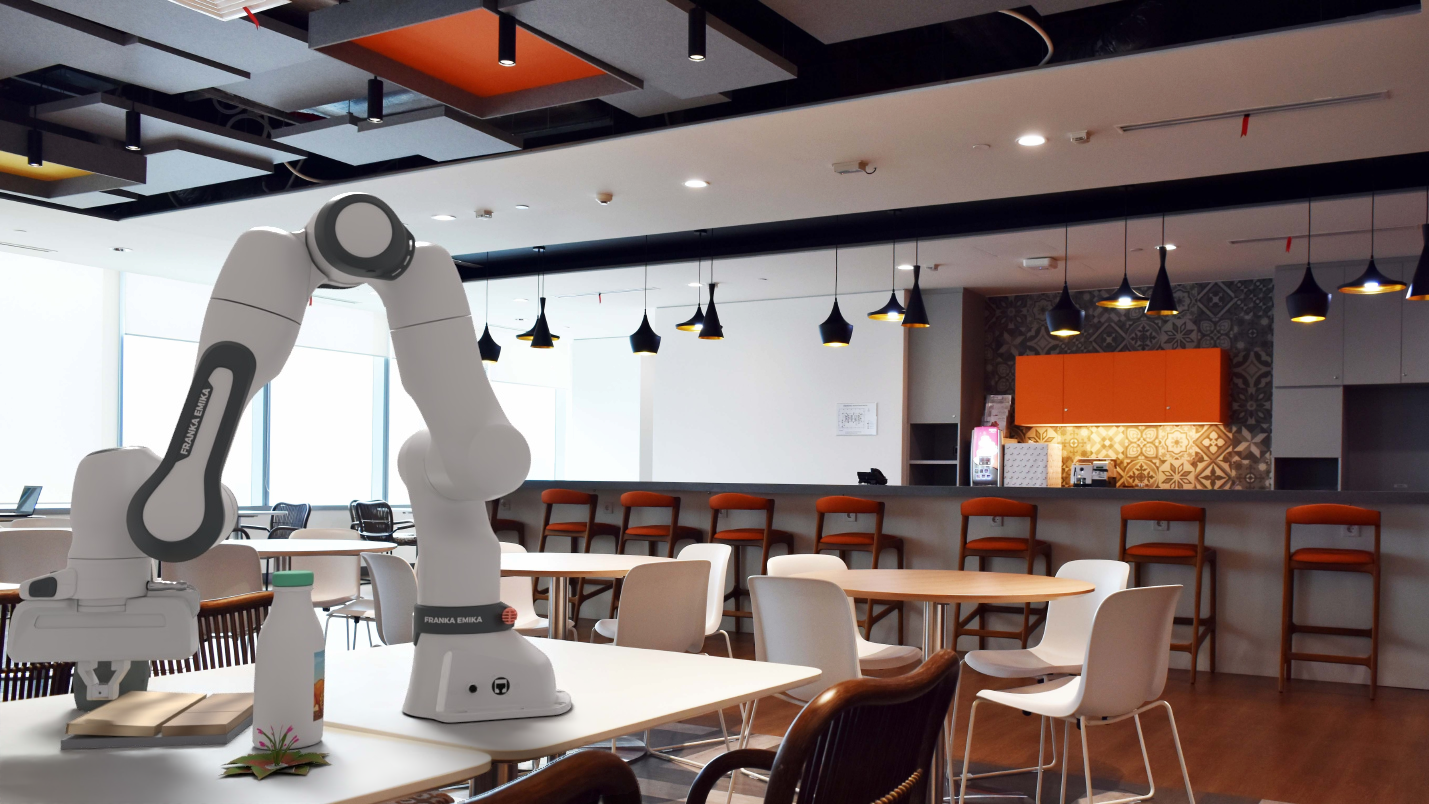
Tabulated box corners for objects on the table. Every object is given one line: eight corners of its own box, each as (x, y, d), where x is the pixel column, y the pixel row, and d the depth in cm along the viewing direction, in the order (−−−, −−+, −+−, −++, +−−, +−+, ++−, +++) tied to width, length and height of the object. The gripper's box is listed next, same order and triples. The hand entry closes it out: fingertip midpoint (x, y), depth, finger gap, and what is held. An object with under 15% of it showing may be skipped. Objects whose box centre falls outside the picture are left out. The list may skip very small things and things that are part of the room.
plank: (205, 702, 143) (206, 693, 143) (153, 736, 124) (154, 726, 124) (130, 699, 142) (131, 690, 142) (65, 733, 122) (66, 723, 122)
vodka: (54, 710, 143) (65, 486, 145) (112, 697, 152) (122, 486, 154) (108, 714, 140) (118, 486, 142) (164, 701, 149) (173, 486, 151)
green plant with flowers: (347, 755, 121) (349, 714, 122) (317, 784, 109) (319, 738, 110) (238, 757, 120) (240, 715, 121) (196, 786, 108) (198, 740, 109)
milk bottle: (298, 753, 120) (304, 574, 122) (237, 749, 122) (243, 573, 123) (335, 737, 128) (340, 569, 129) (277, 734, 129) (283, 568, 131)
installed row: (268, 701, 144) (268, 691, 144) (226, 734, 125) (226, 723, 125) (213, 702, 143) (213, 693, 143) (161, 736, 124) (161, 725, 124)
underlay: (270, 708, 144) (270, 700, 145) (227, 743, 125) (227, 734, 125) (127, 712, 142) (128, 704, 142) (60, 749, 122) (60, 740, 122)
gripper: (209, 578, 132) (203, 692, 131) (29, 579, 129) (22, 695, 128) (192, 583, 126) (187, 702, 125) (4, 584, 123) (-4, 706, 122)
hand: (102, 699), depth 126 cm, fingers closed
